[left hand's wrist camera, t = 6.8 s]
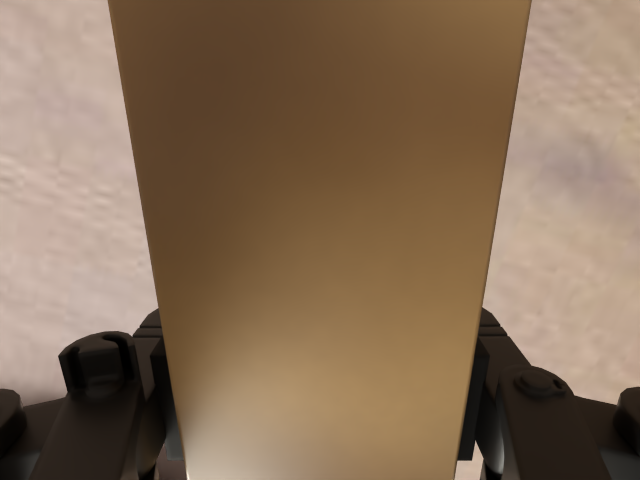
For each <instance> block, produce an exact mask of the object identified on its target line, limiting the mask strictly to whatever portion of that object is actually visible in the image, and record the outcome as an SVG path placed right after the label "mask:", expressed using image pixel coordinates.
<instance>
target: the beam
mask: <svg viewBox="0 0 640 480" xmlns="http://www.w3.org/2000/svg"><path fill="white" fill-rule="evenodd" d="M531 1H532V0H108V5H109V11H110V17H111V23H112V29H113V35H114V41H115V47H116V53H117V59H118V65H119V72H120V78H121V84H122V90H123V96H124V102H125V108H126V114H127V120H128V126H129V132H130V138H131V144H132V150H133V156H134V162H135V168H136V174H137V180H138V186H139V192H140V198H141V204H142V211H143V217H144V223H145V229H146V235H147V241H148V247H149V253H150V259H151V265H152V271H153V277H154V283H155V289H156V295H157V301H158V307H159V313H160V319H161V325H162V331H163V337H164V343H165V350H166V356H167V362H168V368H169V374H170V380H171V386H172V392H173V398H174V404H175V410H176V416H177V422H178V428H179V434H180V440H181V446H182V452H183V458H184V464H185V470H186V476H187V480H454V478H455V472H456V466H457V459H458V453H459V447H460V441H461V435H462V428H463V422H464V416H465V410H466V404H467V397H468V391H469V385H470V379H471V373H472V366H473V360H474V354H475V348H476V342H477V336H478V329H479V323H480V317H481V311H482V305H483V298H484V292H485V286H486V280H487V274H488V267H489V261H490V255H491V249H492V243H493V237H494V230H495V224H496V218H497V212H498V206H499V199H500V193H501V187H502V181H503V175H504V168H505V162H506V156H507V150H508V144H509V137H510V131H511V125H512V119H513V113H514V107H515V100H516V94H517V88H518V82H519V76H520V69H521V63H522V57H523V51H524V45H525V38H526V32H527V26H528V20H529V14H530V8H531Z"/></svg>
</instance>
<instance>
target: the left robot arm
mask: <svg viewBox="0 0 640 480" xmlns="http://www.w3.org/2000/svg"><path fill="white" fill-rule="evenodd" d="M58 357H59V361H60V365H61V369H62V372H63V376H64V380H65V384H66V387H67V391H68V392H67V395H66V397H64V398H61V399H57V400H53V401H48V402H44V403H39V404H34V405H30V406H25V407H23V405H22V402H21V398H20V395H19V394H17V393H16V392H15V391H14V390H8V389H0V480H159V471H158V465H157V457H158V455H159V453H160V450H161V448H162V446H163V444H164V442H165V447H166V453H167V459H168V460H184V458H183V452H182V446H181V440H180V434H179V428H178V422H177V416H176V410H175V404H174V398H173V392H172V386H171V380H170V374H169V368H168V362H167V356H166V350H165V343H164V337H163V331H162V325H161V319H160V313H159V308H158V309H156V310H155V311H153V312H152V313H150V314H149V315H148V316H147V317H146V318H145V320H144V321H143V322H142V324H141V325H140V328H138V329H137V330H136V332H135V333H134V334H133V337H132V336H131V335H129V334H128V333H124V332H119V331H108V332H101V333H96V334H92V335H89V336H86V337H84V338H81V339H79V340H77V341H75V342H73V343H72V344H70V345H69V346H67V347H66V348H65V349H64V350H63V351H62V352H61V353H60V354H59V356H58ZM475 440H476V442H477V445H478V447H479V449H480V451H481V454H482V456H483V458H484V459H483V465H482V470H481V476H480V480H640V387H633V388H627V389H626V390H624V391H623V392H622V393H621V394H620V397H619V400H618V403H617V405H614V404H609V403H605V402H600V401H595V400H591V399H586V398H582V397H578V396H575V395H574V394H573V392H572V390H571V389H570V387H569V386H568V385H567V383H566V382H565V381H563V380H562V379H560V378H559V377H558V376H556V375H555V374H553V373H551V372H549V371H547V370H544V369H542V368H539V367H535V366H531V364H530V363H529V362H528V360H527V359H526V358H525V357H524V355H523V354H522V353H521V351H520V350H519V349H518V347H517V346H516V345H515V343H514V342H513V341H512V339H511V338H510V337H509V336H507V333H506V332H505V330H504V329H503V328H502V327H500V324H499V322H498V321H497V320H496V318H495V317H494V316H493V314H492V313H490V312H489V311H487V310H486V309H484V308H483V307H482V311H481V317H480V323H479V329H478V336H477V342H476V348H475V354H474V360H473V366H472V373H471V379H470V385H469V391H468V397H467V404H466V410H465V416H464V422H463V428H462V435H461V441H460V447H459V453H458V459H457V461H472V457H473V451H474V446H475Z"/></svg>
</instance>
